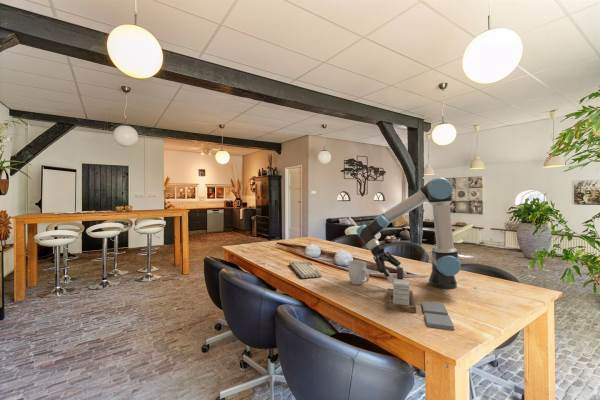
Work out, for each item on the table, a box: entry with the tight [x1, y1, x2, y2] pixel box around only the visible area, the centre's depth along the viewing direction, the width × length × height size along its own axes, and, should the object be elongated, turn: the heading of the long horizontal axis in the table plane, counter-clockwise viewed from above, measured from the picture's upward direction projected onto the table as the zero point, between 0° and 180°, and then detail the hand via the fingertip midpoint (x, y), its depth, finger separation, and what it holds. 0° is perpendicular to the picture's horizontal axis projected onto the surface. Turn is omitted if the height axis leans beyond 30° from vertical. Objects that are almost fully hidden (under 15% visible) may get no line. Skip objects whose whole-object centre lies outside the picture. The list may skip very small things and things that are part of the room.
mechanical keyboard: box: [287, 260, 323, 280], centre depth 198 cm, size 38×19×3 cm, turn 16°
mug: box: [347, 259, 370, 286], centre depth 168 cm, size 15×11×13 cm
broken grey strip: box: [421, 300, 455, 331], centre depth 125 cm, size 10×24×2 cm, turn 161°
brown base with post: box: [386, 267, 417, 314], centre depth 142 cm, size 13×26×14 cm, turn 161°
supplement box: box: [392, 278, 410, 305], centre depth 134 cm, size 7×7×13 cm
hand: (399, 278), depth 151 cm, fingers open, 13 cm apart
